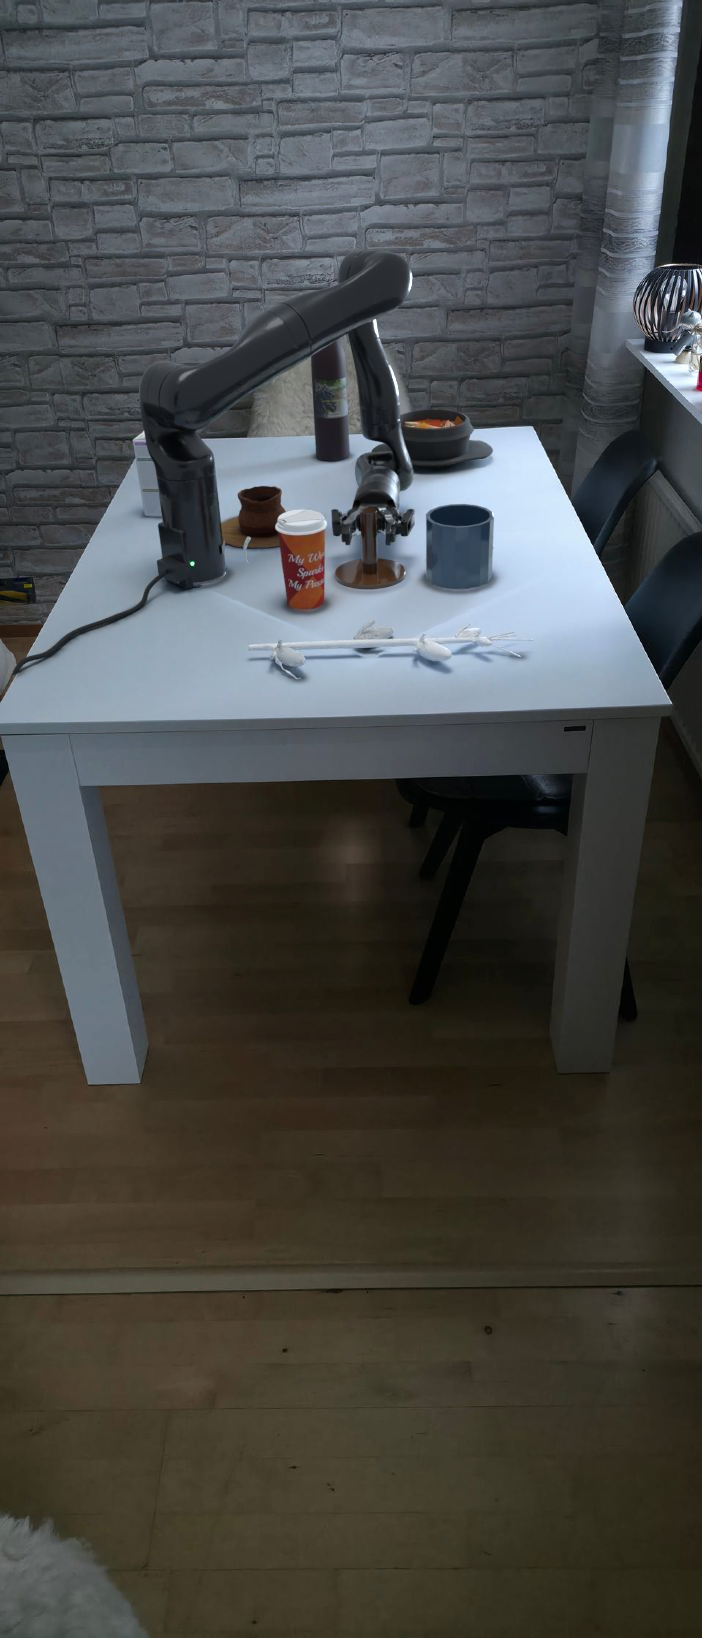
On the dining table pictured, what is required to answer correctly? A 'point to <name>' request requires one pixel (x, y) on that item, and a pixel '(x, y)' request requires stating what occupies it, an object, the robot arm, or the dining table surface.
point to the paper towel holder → (369, 560)
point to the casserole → (439, 439)
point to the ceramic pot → (255, 518)
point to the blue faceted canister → (459, 546)
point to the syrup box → (147, 477)
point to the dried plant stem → (377, 642)
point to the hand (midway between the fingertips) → (367, 539)
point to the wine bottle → (330, 402)
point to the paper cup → (303, 557)
